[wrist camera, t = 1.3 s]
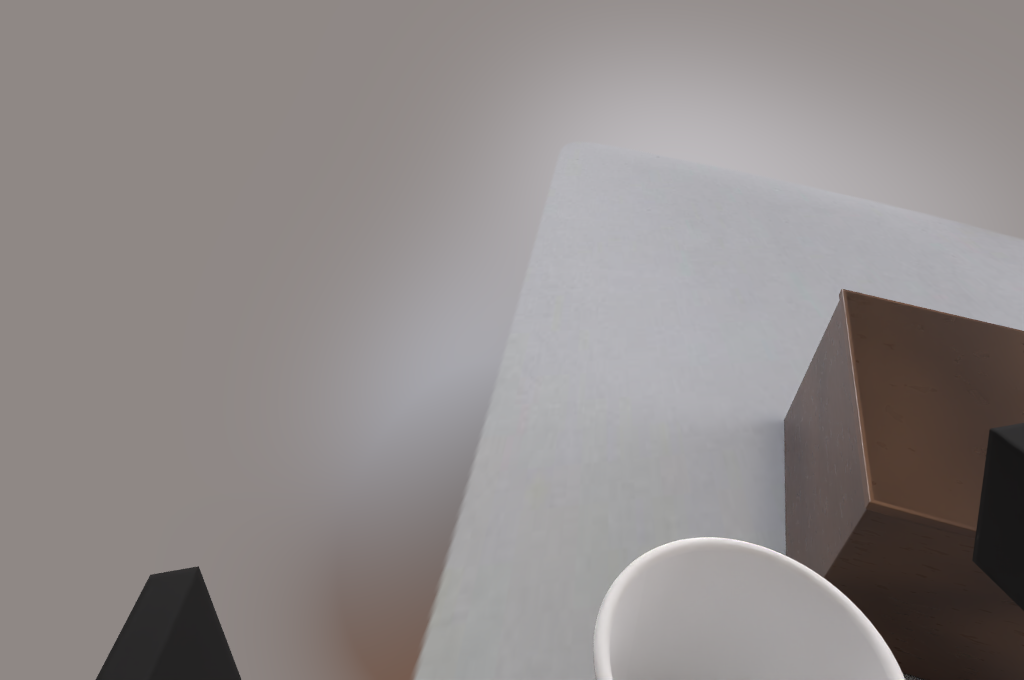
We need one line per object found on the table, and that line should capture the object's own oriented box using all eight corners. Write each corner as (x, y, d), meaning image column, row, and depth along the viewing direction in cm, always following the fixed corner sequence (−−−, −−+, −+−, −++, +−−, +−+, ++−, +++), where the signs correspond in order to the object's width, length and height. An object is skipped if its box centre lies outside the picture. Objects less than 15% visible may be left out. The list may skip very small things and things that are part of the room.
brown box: (784, 639, 31) (869, 502, 26) (782, 418, 42) (841, 288, 37) (1068, 726, 30) (1225, 599, 24) (989, 472, 41) (1085, 344, 35)
